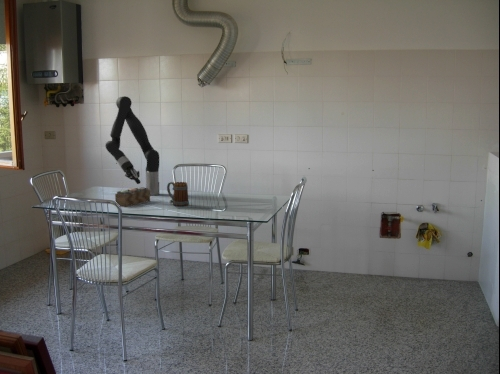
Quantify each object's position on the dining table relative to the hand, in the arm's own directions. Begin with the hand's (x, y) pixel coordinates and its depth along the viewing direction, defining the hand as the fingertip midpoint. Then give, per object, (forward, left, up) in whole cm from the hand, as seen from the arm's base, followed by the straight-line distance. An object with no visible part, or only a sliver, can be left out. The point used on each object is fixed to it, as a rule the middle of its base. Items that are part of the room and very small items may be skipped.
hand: (139, 183), depth 339 cm
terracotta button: (+5, +7, -5) cm, 10 cm away
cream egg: (-1, +1, -5) cm, 5 cm away
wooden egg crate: (+5, +7, -12) cm, 15 cm away
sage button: (+11, +12, -5) cm, 17 cm away
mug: (-22, +19, -13) cm, 32 cm away
